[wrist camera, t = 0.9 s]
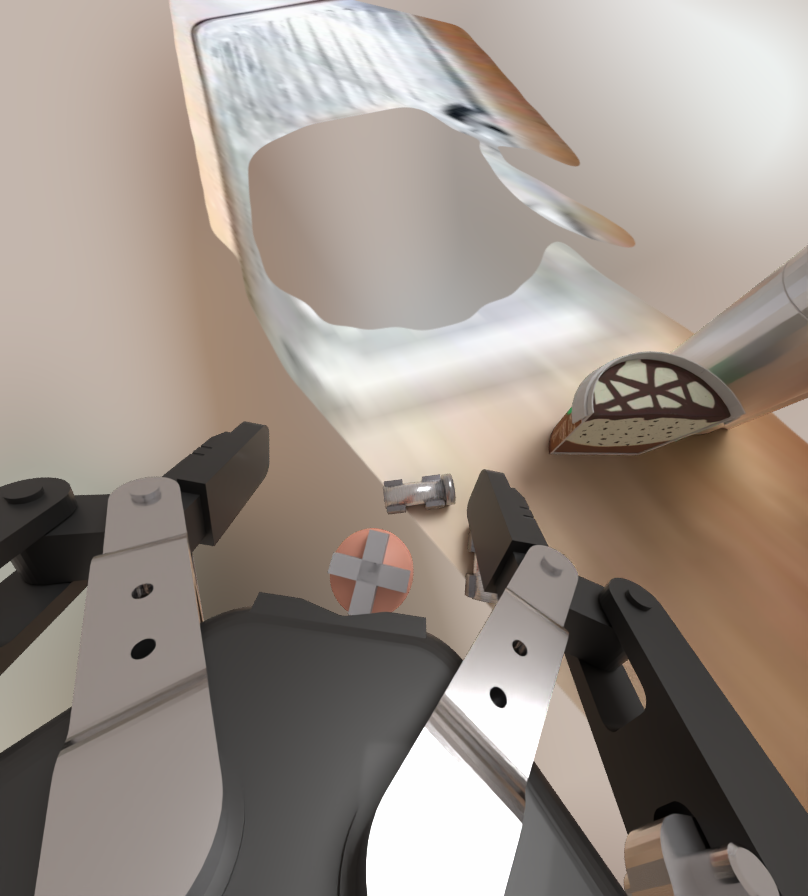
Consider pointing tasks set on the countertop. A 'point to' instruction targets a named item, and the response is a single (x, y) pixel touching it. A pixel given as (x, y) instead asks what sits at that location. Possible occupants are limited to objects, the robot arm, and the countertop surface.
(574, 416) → the food container
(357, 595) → the pink capped rod
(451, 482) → the shaft
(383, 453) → the countertop surface
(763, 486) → the countertop surface
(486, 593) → the shaft
